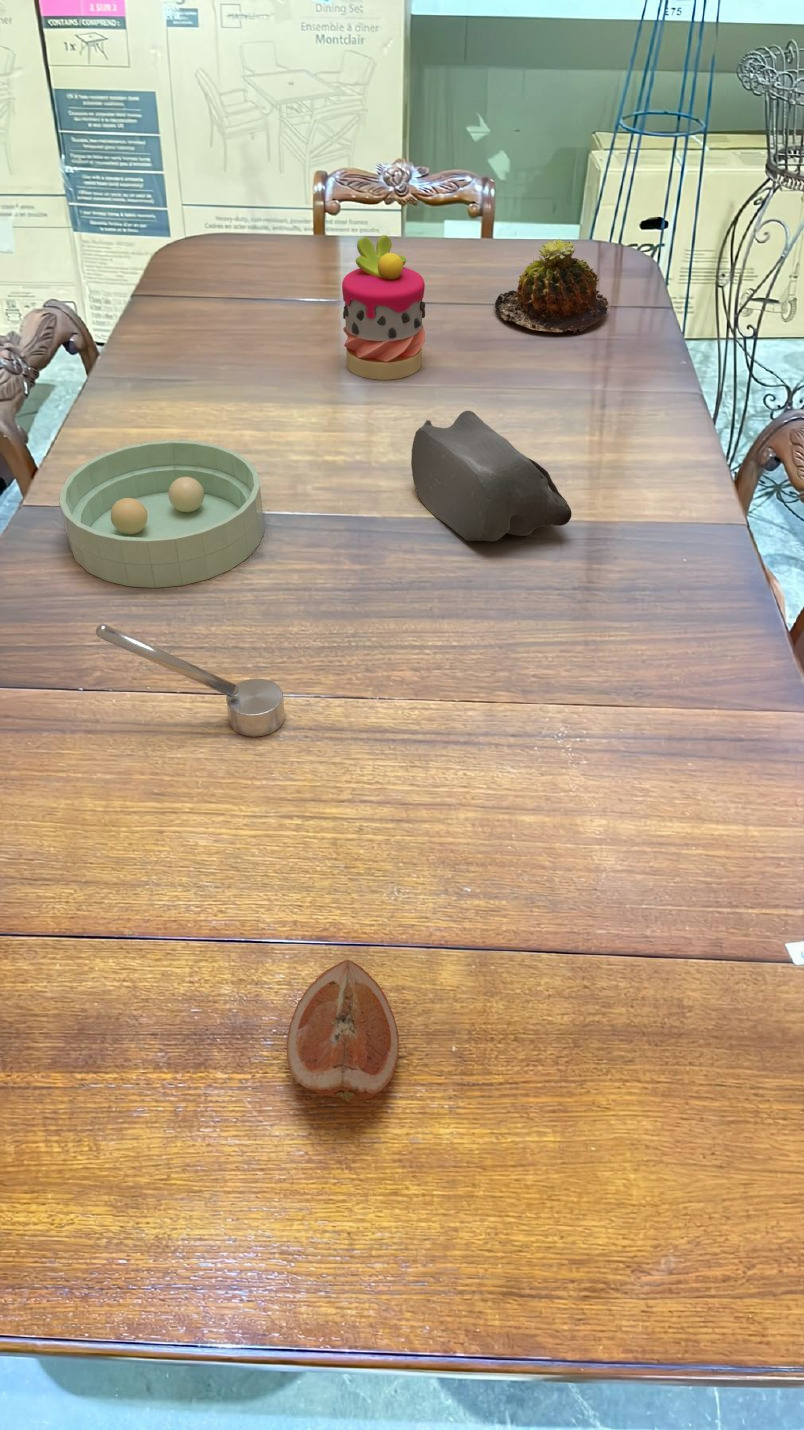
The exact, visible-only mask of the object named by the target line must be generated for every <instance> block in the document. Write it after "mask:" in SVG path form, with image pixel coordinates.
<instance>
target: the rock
mask: <svg viewBox="0 0 804 1430" xmlns="http://www.w3.org/2000/svg"><path fill="white" fill-rule="evenodd" d="M411 446H412V447H411V459H410V460H411V461H410V466H411V474H412V481H413V484H414V488H415V490H416V493H417V495H418V497H419V499H420V501H421V503H422V504H423V506H424V507H426V509H427V510H428V511H429V513H431V514H432V515H433V516H434V517H436V518H437V519H439V520H440V521H441V522H443V523H444V524H445V525H446V526H448V527H449V528H450V529H452V530H454V532H455V533H457V535H459V536H460V537H461V538H462V539H464V540H465V541H466V542H475V541H477V542H478V541H480V542H481V541H487V542H496V541H498V540H500V539H501V538H502V537H504V536H505V535H506V534H509V535H513V536H518V537H524V536H525V537H526V536H527V537H528V536H530V535H531V534H532V533H533V532H534V531H535V530H536V529H539V528H542V527H546V526H555V527H563V526H565V525H567V524H568V523H569V522H570V520H571V519H572V510H571V507H570V505H569V503H568V502H567V500H566V499H565V497H564V496H563V495H562V494H561V492H560V491H559V490H558V488H557V486H556V485H555V482H553V480H552V478H551V475H550V473H549V472H548V471H547V469H545V468H544V467H543V466H541V465H540V464H539V463H538V462H537V461H535V460H533V459H531V458H530V457H528V456H526V455H525V454H523V453H522V452H520V451H519V450H518V449H517V448H516V447H514V445H513V444H512V443H511V442H510V441H509V440H508V439H507V438H505V436H502V435H500V434H499V433H497V431H495V430H494V429H493V428H491V426H489V425H488V424H487V423H486V422H484V421H483V420H482V419H481V418H480V417H479V416H478V414H476V413H475V412H474V411H472V410H464V411H463V412H461V413H459V415H458V416H457V417H456V418H455V420H454V422H453V423H452V424H451V425H449V426H448V427H440V426H434V425H433V424H432V421H431V420H429V419H428V420H427V419H426V420H425V422H424V423H423V425H421V426H420V427H419V428H418V429H417V430H416V431H415V434H414V437H413V440H412V445H411Z"/></svg>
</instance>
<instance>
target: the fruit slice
mask: <svg viewBox="0 0 804 1430" xmlns="http://www.w3.org/2000/svg"><path fill="white" fill-rule="evenodd" d="M287 1031H288V1032H287V1038H286V1061H287V1064H288V1069H289V1072H290V1074H291V1076H292V1078H293V1079H294V1080H295V1082H297V1083H298V1084H299V1085H301V1086H302V1087H303V1088H305V1089H307V1090H310V1091H312V1092H315V1093H318V1094H321V1095H324V1096H328V1097H332V1098H340V1099H343V1100H346V1101H347V1102H350V1101H351V1100H358V1099H359V1100H366V1099H371V1098H372V1097H374V1096H376V1095H377V1094H379V1093H380V1092H381V1091H382V1090H383V1089H384V1088H385V1087H386V1086H387V1085H388V1084H389V1083H390V1081H391V1079H392V1078H393V1076H394V1073H395V1070H396V1067H397V1063H398V1059H399V1049H400V1038H399V1031H398V1025H397V1021H396V1019H395V1016H394V1013H393V1010H392V1008H391V1006H390V1003H389V1001H388V998H387V997H386V994H385V992H384V991H383V988H381V986H380V985H379V983H378V982H377V981H376V980H375V978H373V977H372V976H371V975H370V973H368V972H367V971H366V970H365V969H364V968H363V967H362V966H360V965H359V964H357V963H355V962H354V961H352V960H350V959H346V960H343V961H341V962H339V963H337V964H335V965H333V966H332V967H330V968H328V969H326V971H324V972H322V973H321V974H320V975H319V976H318V977H316V979H315V980H314V981H313V982H312V983H311V984H310V985H309V986H308V988H307V989H306V990H305V991H304V993H303V994H302V995H301V998H300V999H299V1001H298V1002H297V1004H296V1007H295V1009H294V1012H293V1014H292V1017H291V1020H290V1024H289V1027H288V1030H287Z"/></svg>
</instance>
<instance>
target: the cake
mask: <svg viewBox="0 0 804 1430" xmlns="http://www.w3.org/2000/svg"><path fill="white" fill-rule="evenodd" d="M392 245H393V243H392V240H391V238H390V237H389V236H388V235H386V234H382V235H380V236H379V237H378V239H377V242H376V245H374V243H373V242H372V241H371V239H370V238H369V237H365V236H364V237H360V238H359V239H358V240H357V242H356V248H357V251H358V253H359V256H357V257H356V259H355V264H356V265H357V267H358V268H356V269H354V270H351V271H350V272H348V273H347V274H346V275H344V278H343V279H342V282H341V287H342V288H341V291H342V300H343V302H344V306H343V311H342V318H343V320H345V321H344V322H345V323H344V324H345V326H344V327H343V328H342V330H343V332H344V333H345V335H346V336H347V338H346V340H345V342H344V344H343V347H345V348H346V349H345V351H346V352H345V353H346V367H347V369H348V370H349V372H351V373H353V375H356V376H358V377H362V378H365V379H371V380H378V381H386V380H388V381H389V380H390V381H391V380H398V379H404V378H406V377H410V376H412V375H414V374H415V373H417V372H418V371H419V370H420V369H421V368H422V366H423V365H422V361H423V360H422V359H423V358H422V357H423V356H422V355H423V346H424V344H425V342H426V331H425V328H424V325H423V319H425V317H426V303H425V302H424V301H423V300H424V296H425V289H426V287H425V286H426V285H425V284H426V283H425V280H424V278H423V276H422V275H421V274H420V273H418V272H417V271H415V270H413V269H411V268H409V267H405V265H406V263H407V258H406V257H405V256H404V255H402V254H397V253H394V252H391V250H392Z"/></svg>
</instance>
